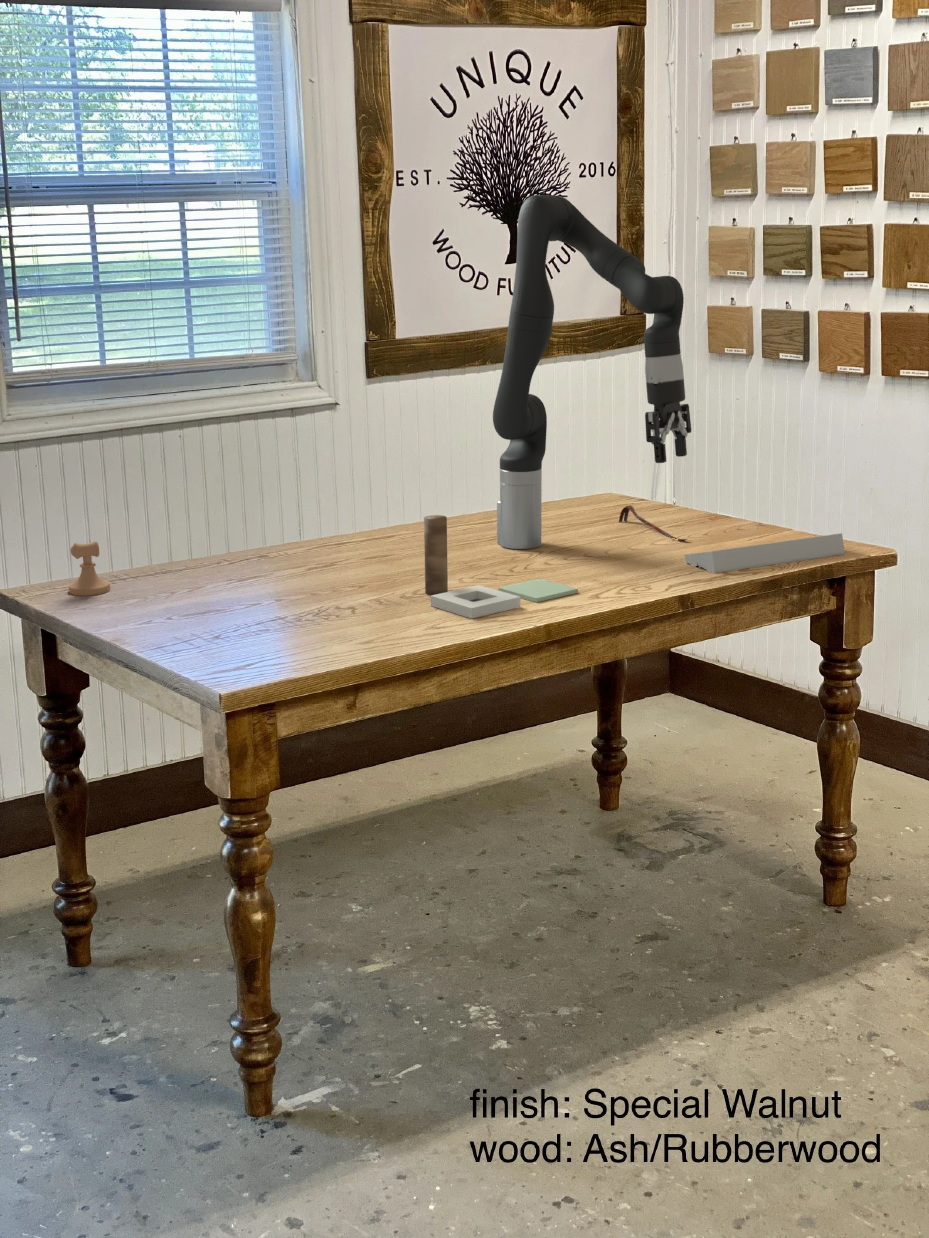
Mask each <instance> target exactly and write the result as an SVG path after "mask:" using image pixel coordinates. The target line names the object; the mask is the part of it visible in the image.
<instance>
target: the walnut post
mask: <svg viewBox="0 0 929 1238" xmlns="http://www.w3.org/2000/svg"><path fill="white" fill-rule="evenodd" d="M447 522H448V518H447V516H446V515H440V514H435V515H434V514H432V515H426V516H424V517H423V533H424V534H423V536H424V537H423V538H424V540H423V541H424V544H423V546H424V592H425V594H426V595H428V596H431V595H436V594H440V593H445V592H449V584H448V581H449V578H448V523H447Z"/></svg>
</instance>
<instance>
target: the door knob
mask: <svg viewBox="0 0 929 1238" xmlns="http://www.w3.org/2000/svg"><path fill="white" fill-rule="evenodd" d="M70 554H71V556H72V557H74V558H75V559H77V560H79V559H81V558H82V563H80V564H79V567H80V568H81V570H80V571H81V572H80V575H79V577H78V578H77V580H75V581H74V582H72V583H70V584H69V585H68V593H69V594H72V595H75V596H94V595H101V594H105V593H107V592H109V591H111V582H110V581H108V580H105V579H102V578H101V577H100V576H99V575H98V574H97V572H96V570H95V567H96V566H97V563H96V562H92V561H93V560H92V557H96V558H99V557H100V546H99V542H98V541H96V540H95V541H93V542H90V543H77V542H75V543H74V544H73V545H72V546H71V547H70Z"/></svg>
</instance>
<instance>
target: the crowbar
mask: <svg viewBox="0 0 929 1238" xmlns="http://www.w3.org/2000/svg"><path fill="white" fill-rule="evenodd" d="M629 512H631V513H632V514H633V516H634V517H635V519H637V520H638V521H640V522H641V523H642V524H645V525H646V526H647V527H650V528H652V529H654V530H655V531H657V532H658V533H661V534H662V535H664V536H666V537H667V536H668V538H669V537H670V538H669V539H672V538H675V539H678V541H677V542H685V541H687V540H688V538H678V537H675V536H673V535H671V534H670V533H668V532H666V531H664V530H663V529H661V528H660V527H658V526H656V525H654V524H653V523H651V522H649V521H648V520H646V519H645V518H643V517H641V516H639V514H638V513H637V512H636V511H635V507H634V506H632V505H626V506H625V507H623V508H622V509H621V512H620V514H619V519H618V523H623V522H624V521H626V522H628V518H629V514H630V513H629Z"/></svg>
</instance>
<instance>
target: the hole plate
mask: <svg viewBox="0 0 929 1238" xmlns="http://www.w3.org/2000/svg"><path fill="white" fill-rule="evenodd" d="M430 606H431V607H433V608H437V609H440V610H443V611H446V612H448V613H453V614H456V615H459V616H462V617H466V618H469V619H471V620H472V619H475V618H480V617H485V616H488V615H493V614H496V613H502V612H505V611H509V610H515V609H518V608H521V598H520V597H519V596H516V595H512V594H509V593H505V592H502V591H498V589H496V588H495V589H494V588H491V587H487V586H483V585H480V584H478V585H477V584H476V585H472V586H469V587H464V588H460V589H455V590H451V591H448V592H445V593H440V594H436V595H430Z"/></svg>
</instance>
